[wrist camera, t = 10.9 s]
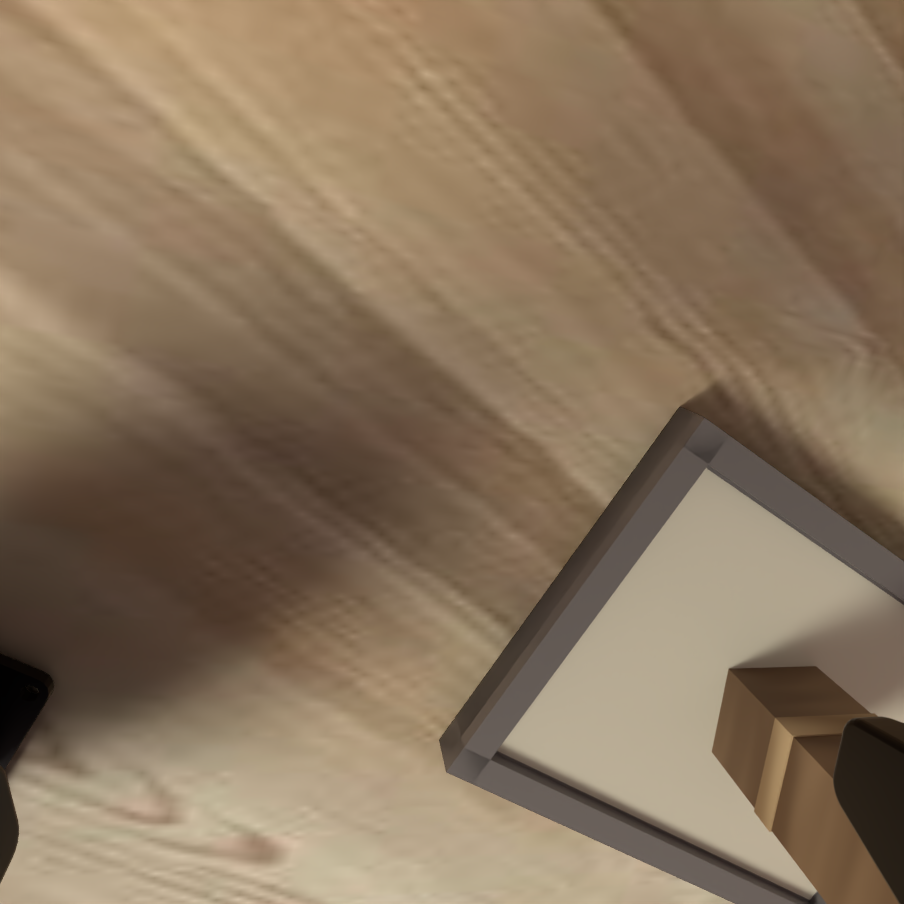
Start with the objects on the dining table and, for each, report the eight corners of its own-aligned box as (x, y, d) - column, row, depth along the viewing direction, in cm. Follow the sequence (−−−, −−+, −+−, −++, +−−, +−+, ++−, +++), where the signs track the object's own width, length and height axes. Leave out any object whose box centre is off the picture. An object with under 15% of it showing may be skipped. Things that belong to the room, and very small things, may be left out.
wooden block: (710, 753, 24) (887, 988, 16) (727, 667, 23) (923, 873, 15) (797, 748, 24) (1008, 974, 17) (817, 664, 23) (1049, 862, 16)
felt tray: (794, 906, 28) (818, 941, 27) (439, 740, 23) (446, 772, 22) (1015, 647, 26) (1054, 670, 25) (679, 406, 21) (704, 417, 20)
